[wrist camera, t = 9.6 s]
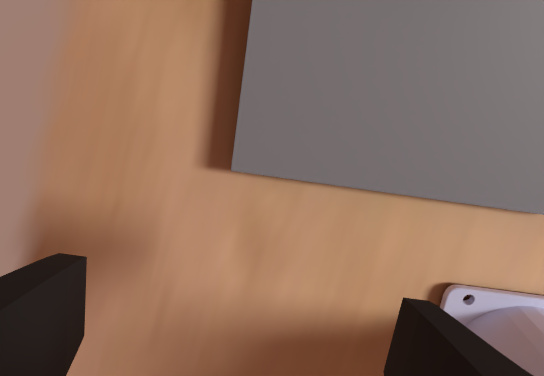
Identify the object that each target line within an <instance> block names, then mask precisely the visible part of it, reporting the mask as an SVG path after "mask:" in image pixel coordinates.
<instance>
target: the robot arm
mask: <svg viewBox="0 0 544 376" xmlns="http://www.w3.org/2000/svg"><path fill="white" fill-rule="evenodd" d="M86 262H87V257H84V256H76V255H68V254H60V253H58V254H55V255H52V256H49V257H46V258H44V259H41V260H39V261H36V262H34V263H32V264H29V265H27V266H24V267H22V268H20V269H18V270H15V271H13V272H11V273H8V274H6V275H4V276H2V277H0V376H66V374H67V372H68V370H69V368H70V366H71V364H72V362H73V360H74V357H75V355H76V353H77V351H78V348H79V346H80V344H81V342H82V339H83V337H84V326H85V294H86ZM466 295H471V297H470V298H469V299H468V300H463V298H464V297H465V296H466ZM384 376H544V296H542V295H534V294H527V293H519V292H512V291H504V290H496V289H489V288H481V287H473V286H466V285H458V284H457V285H451V286H449V287H448V288H447V289H446V290H445V292H444V294H443V298H442V301H441V304H440V307H438V306H437V305H435V304H433V303H432V302H430V301H425V300H417V299H409V298H403V300H402V304H401V307H400V311H399V315H398V319H397V323H396V326H395V330H394V334H393V338H392V341H391V345H390V349H389V353H388V357H387V360H386V364H385V368H384Z"/></svg>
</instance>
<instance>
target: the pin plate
mask: <svg viewBox="0 0 544 376" xmlns="http://www.w3.org/2000/svg"><path fill="white" fill-rule="evenodd" d="M231 171H236V172H244V173H251V174H258V175H265V176H272V177H279V178H286V179H293V180H301V181H308V182H315V183H322V184H329V185H336V186H343V187H350V188H357V189H365V190H372V191H379V192H386V193H393V194H400V195H407V196H414V197H422V198H429V199H436V200H443V201H450V202H457V203H464V204H471V205H479V206H486V207H493V208H500V209H507V210H514V211H521V212H528V213H535V214H543V215H544V0H252V7H251V15H250V23H249V31H248V39H247V47H246V55H245V63H244V71H243V79H242V86H241V94H240V102H239V110H238V118H237V126H236V134H235V142H234V150H233V158H232V166H231Z"/></svg>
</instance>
